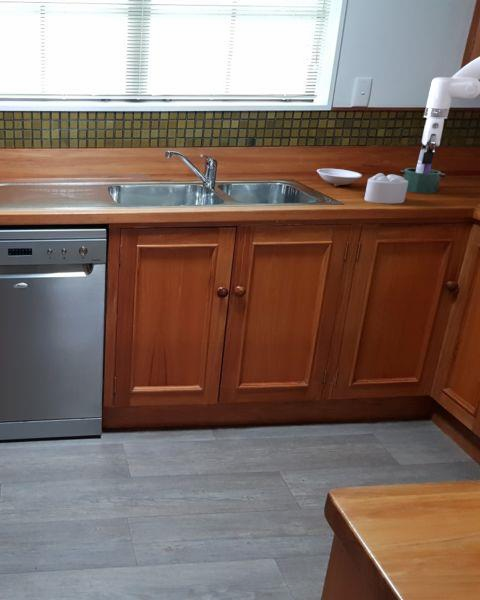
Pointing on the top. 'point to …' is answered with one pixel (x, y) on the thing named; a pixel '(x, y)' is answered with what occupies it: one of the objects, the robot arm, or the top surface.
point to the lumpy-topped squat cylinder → (386, 189)
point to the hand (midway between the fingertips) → (424, 161)
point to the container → (422, 167)
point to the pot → (422, 180)
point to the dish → (338, 176)
